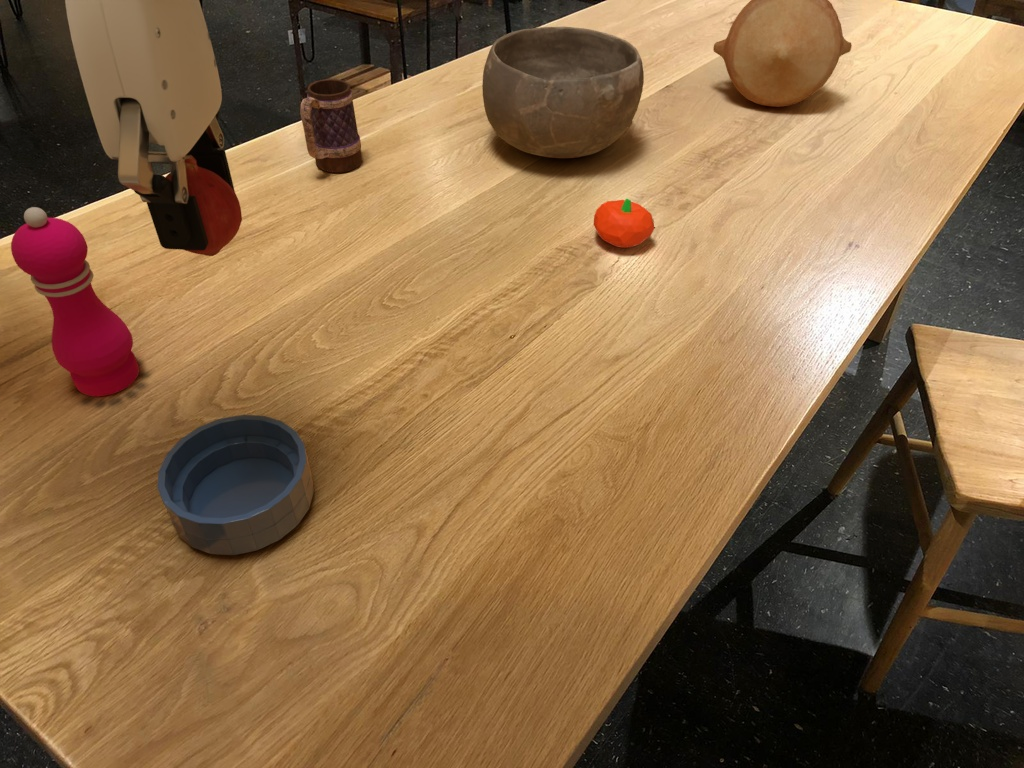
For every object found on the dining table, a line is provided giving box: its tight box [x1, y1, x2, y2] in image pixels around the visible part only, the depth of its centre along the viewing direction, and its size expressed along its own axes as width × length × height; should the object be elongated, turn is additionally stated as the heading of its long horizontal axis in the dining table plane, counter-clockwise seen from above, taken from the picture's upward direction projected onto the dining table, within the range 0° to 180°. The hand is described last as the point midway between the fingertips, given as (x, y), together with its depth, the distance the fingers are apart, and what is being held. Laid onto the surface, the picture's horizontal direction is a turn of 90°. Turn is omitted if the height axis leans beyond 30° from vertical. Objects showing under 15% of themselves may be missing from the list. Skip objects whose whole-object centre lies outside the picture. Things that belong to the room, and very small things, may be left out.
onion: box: [165, 155, 243, 257], centre depth 55 cm, size 6×6×8 cm
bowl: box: [481, 26, 645, 159], centre depth 117 cm, size 24×24×15 cm
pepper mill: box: [10, 206, 140, 397], centre depth 74 cm, size 7×7×20 cm
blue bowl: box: [157, 414, 315, 556], centre depth 67 cm, size 12×12×5 cm
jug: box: [712, 0, 853, 108], centre depth 136 cm, size 20×19×30 cm
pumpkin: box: [593, 198, 656, 249], centre depth 100 cm, size 7×8×6 cm
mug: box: [300, 78, 363, 174], centre depth 111 cm, size 10×7×12 cm
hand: (200, 220), depth 56 cm, fingers closed on onion, 5 cm apart
